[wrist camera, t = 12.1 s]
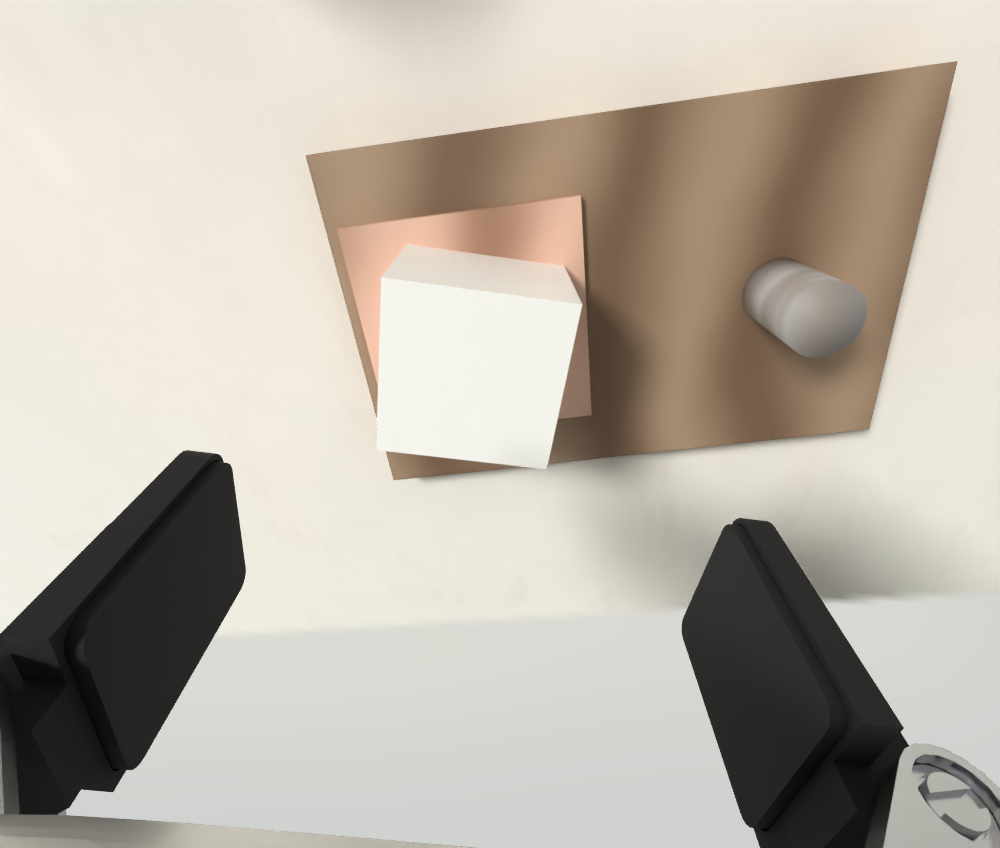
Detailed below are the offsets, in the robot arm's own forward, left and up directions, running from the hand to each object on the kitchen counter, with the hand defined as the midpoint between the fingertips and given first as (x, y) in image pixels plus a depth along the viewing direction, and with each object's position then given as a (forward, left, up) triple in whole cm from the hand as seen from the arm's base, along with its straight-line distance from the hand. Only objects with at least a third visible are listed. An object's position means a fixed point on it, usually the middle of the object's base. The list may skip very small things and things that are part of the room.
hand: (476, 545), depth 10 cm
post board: (-5, 0, -15) cm, 16 cm away
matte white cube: (0, 0, -13) cm, 13 cm away
